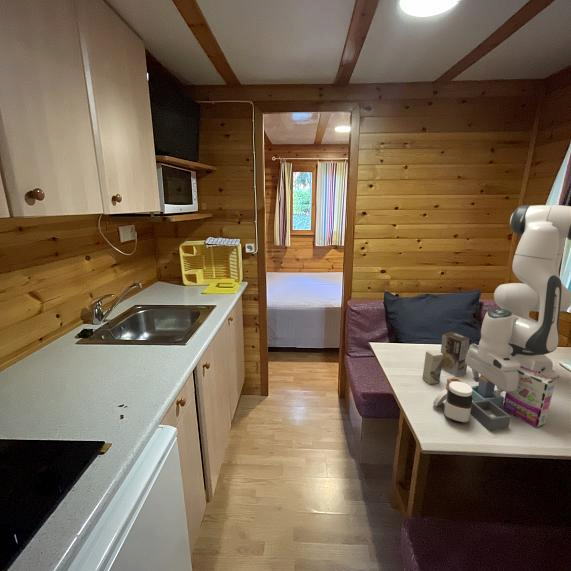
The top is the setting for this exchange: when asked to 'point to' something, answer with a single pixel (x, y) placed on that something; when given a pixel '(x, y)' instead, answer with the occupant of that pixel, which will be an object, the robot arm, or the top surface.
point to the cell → (485, 387)
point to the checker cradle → (490, 415)
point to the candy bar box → (530, 397)
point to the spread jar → (456, 401)
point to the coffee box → (454, 353)
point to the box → (432, 366)
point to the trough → (494, 399)
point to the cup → (452, 381)
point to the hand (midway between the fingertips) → (486, 388)
